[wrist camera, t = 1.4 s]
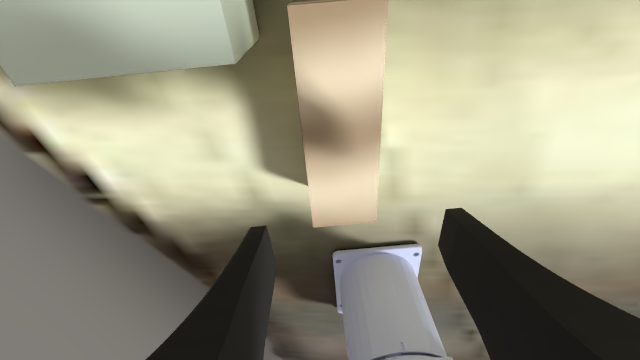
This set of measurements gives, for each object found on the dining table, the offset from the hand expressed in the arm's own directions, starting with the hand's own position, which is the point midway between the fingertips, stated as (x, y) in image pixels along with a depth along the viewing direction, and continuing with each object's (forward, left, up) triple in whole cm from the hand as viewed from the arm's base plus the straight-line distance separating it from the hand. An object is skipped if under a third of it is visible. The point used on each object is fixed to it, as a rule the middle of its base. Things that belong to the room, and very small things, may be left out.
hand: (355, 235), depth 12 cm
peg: (+2, 0, -10) cm, 10 cm away
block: (+9, +8, -9) cm, 15 cm away
